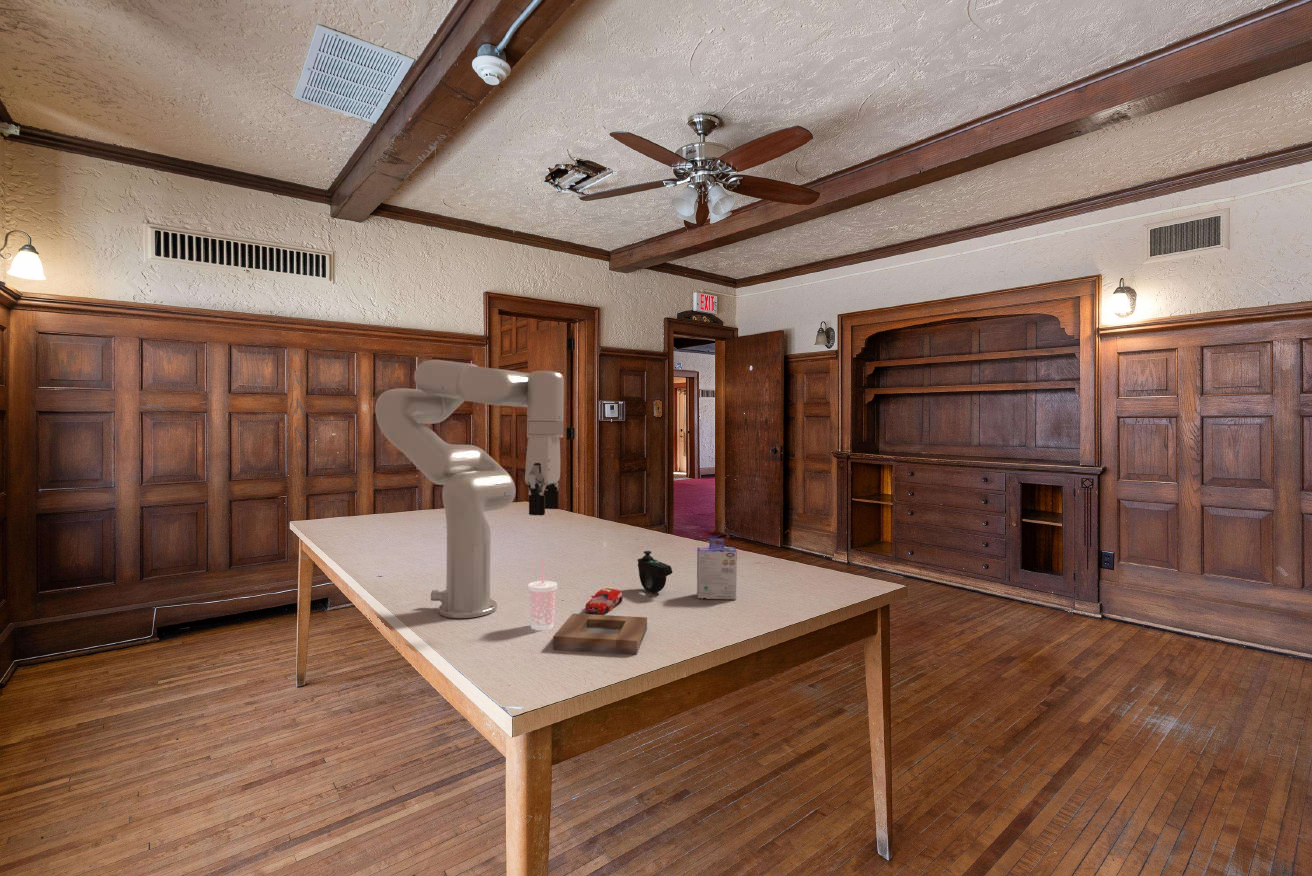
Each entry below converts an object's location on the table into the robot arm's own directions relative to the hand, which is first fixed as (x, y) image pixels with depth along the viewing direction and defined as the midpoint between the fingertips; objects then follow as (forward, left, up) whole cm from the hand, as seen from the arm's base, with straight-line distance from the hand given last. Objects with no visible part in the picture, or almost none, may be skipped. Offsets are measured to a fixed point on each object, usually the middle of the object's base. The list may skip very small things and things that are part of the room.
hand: (544, 511), depth 123 cm
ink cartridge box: (+36, +29, -24) cm, 52 cm away
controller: (+20, +30, -24) cm, 43 cm away
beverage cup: (0, 0, -24) cm, 24 cm away
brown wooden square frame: (+14, -5, -24) cm, 28 cm away
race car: (+10, +16, -25) cm, 31 cm away
